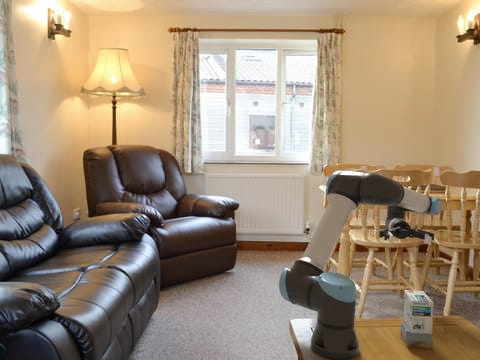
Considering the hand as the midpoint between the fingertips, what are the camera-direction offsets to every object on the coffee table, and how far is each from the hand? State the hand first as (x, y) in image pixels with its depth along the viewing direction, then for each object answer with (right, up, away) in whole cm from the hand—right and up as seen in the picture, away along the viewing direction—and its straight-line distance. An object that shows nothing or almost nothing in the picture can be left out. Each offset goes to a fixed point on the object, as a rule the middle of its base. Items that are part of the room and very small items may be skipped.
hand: (411, 240), depth 166 cm
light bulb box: (-4, -27, -17) cm, 32 cm away
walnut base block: (-4, -32, -16) cm, 36 cm away
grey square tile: (-5, -29, -17) cm, 34 cm away
